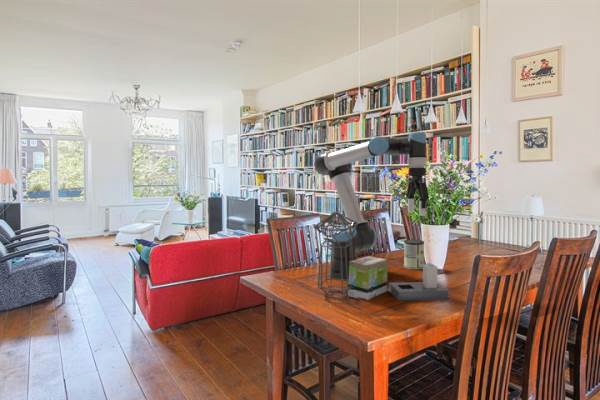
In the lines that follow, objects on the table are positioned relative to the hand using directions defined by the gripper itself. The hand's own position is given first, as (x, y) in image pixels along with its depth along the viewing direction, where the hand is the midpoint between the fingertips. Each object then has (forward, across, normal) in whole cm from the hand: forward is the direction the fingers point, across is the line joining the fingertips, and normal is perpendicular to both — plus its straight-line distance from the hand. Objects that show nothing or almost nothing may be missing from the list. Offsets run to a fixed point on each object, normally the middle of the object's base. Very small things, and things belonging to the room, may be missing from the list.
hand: (416, 214), depth 171 cm
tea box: (+32, -15, +26) cm, 44 cm away
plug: (+31, -20, +2) cm, 37 cm away
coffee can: (+32, +28, -10) cm, 44 cm away
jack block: (+32, -20, +7) cm, 38 cm away
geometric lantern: (+32, -15, +39) cm, 53 cm away
